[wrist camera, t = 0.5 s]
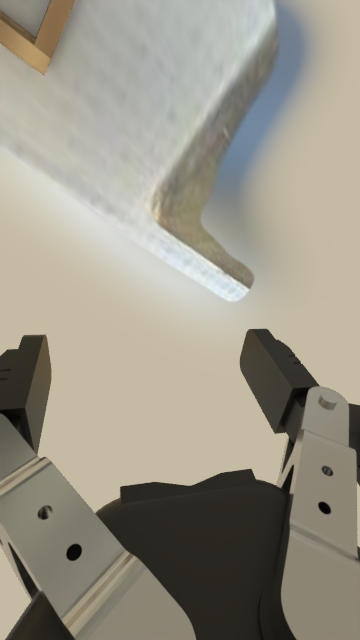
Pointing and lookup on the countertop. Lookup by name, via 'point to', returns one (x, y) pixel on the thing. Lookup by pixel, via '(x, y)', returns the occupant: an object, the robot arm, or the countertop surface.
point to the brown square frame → (47, 37)
